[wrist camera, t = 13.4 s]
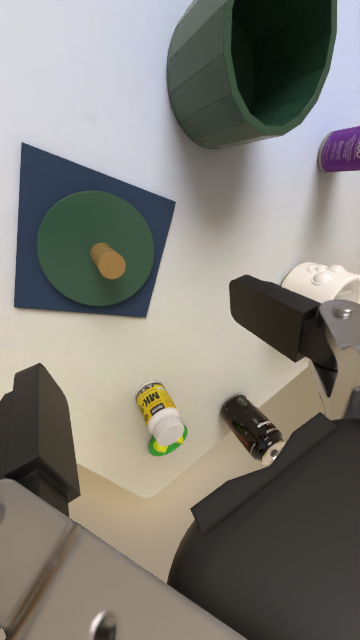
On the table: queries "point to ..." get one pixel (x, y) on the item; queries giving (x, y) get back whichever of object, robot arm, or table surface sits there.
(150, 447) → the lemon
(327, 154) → the container
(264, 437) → the beverage can
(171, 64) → the tin
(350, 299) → the mug
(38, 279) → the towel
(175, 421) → the supplement bottle
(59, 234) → the lid
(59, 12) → the table surface
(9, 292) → the table surface
